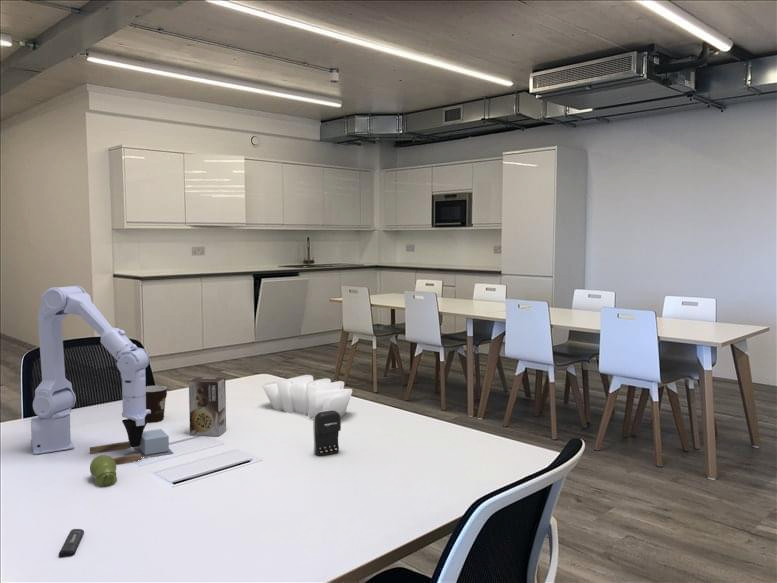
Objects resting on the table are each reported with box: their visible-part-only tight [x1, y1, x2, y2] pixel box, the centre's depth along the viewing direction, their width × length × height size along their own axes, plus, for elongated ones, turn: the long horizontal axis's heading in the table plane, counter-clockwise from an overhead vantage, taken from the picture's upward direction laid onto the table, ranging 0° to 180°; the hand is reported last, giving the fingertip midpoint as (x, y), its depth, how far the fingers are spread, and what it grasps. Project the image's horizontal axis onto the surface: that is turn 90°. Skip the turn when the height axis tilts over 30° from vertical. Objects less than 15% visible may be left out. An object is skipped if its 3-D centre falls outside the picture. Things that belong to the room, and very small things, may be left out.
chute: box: [89, 440, 142, 466], centre depth 163 cm, size 10×13×2 cm
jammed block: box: [138, 428, 170, 455], centre depth 168 cm, size 6×8×4 cm
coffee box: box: [188, 376, 227, 437], centre depth 184 cm, size 9×6×16 cm
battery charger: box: [312, 410, 342, 456], centre depth 167 cm, size 7×4×11 cm, turn 121°
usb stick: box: [58, 528, 85, 558], centre depth 115 cm, size 10×3×2 cm, turn 15°
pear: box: [89, 454, 118, 488], centre depth 146 cm, size 6×5×10 cm
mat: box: [132, 447, 174, 459], centre depth 168 cm, size 8×11×1 cm
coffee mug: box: [145, 385, 168, 424], centre depth 198 cm, size 12×9×10 cm
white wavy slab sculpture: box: [262, 374, 353, 419], centre depth 209 cm, size 35×16×10 cm, turn 49°
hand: (135, 446), depth 166 cm, fingers closed, pressing on jammed block
